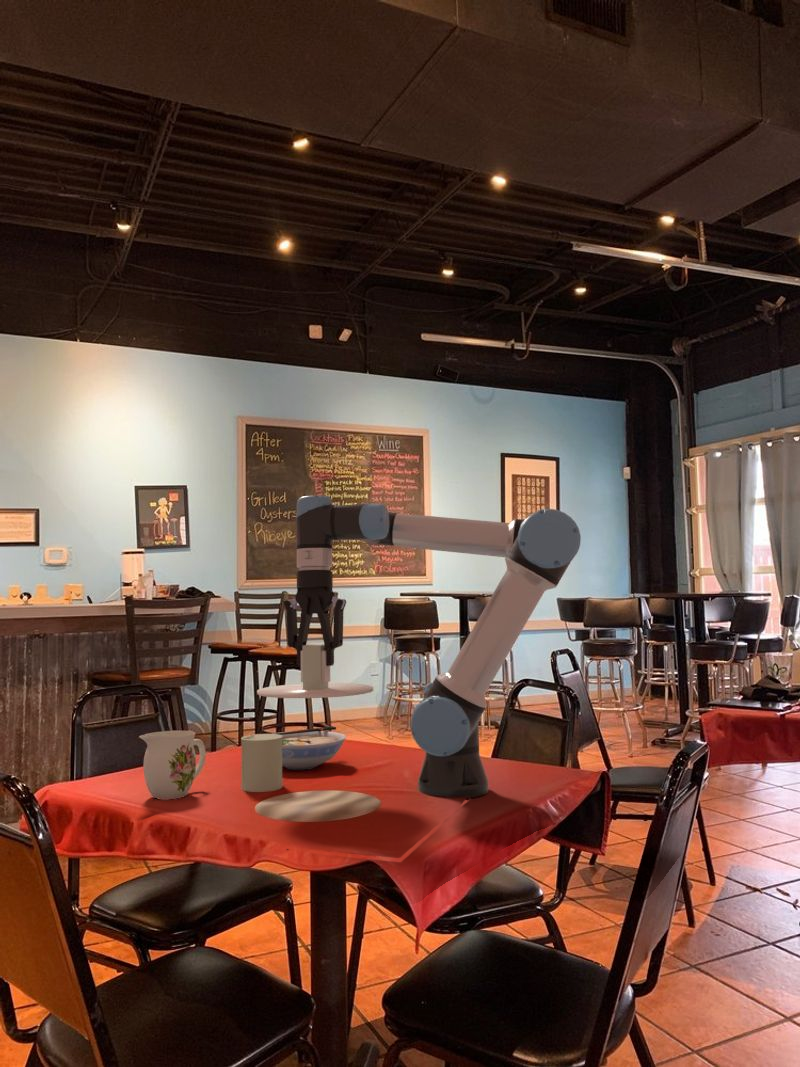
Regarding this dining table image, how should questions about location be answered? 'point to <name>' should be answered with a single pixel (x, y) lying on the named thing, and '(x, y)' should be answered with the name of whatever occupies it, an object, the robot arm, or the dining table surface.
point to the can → (261, 762)
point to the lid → (314, 681)
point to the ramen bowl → (309, 747)
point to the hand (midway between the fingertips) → (315, 681)
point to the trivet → (317, 806)
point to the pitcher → (171, 763)
